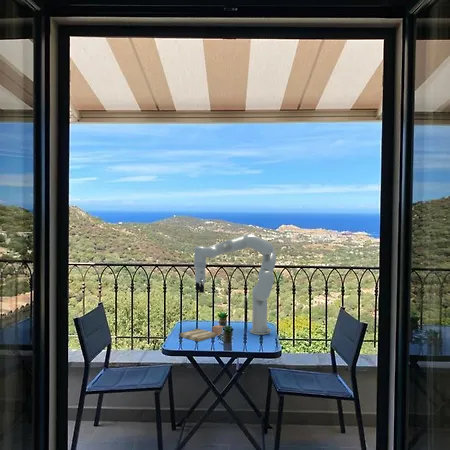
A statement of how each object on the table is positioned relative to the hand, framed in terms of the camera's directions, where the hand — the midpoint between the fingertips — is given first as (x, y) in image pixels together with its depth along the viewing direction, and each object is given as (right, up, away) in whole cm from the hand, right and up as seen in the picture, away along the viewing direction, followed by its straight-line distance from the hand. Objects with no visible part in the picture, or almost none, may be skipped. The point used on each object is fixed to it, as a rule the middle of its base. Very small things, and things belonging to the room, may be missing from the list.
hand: (199, 291), depth 258 cm
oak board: (0, -27, -11) cm, 29 cm away
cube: (+12, -27, -4) cm, 30 cm away
